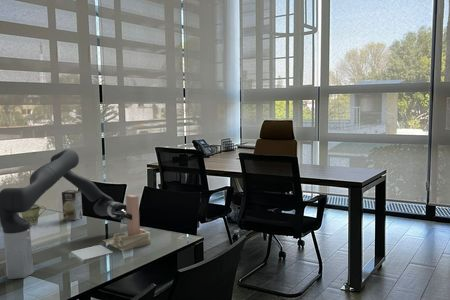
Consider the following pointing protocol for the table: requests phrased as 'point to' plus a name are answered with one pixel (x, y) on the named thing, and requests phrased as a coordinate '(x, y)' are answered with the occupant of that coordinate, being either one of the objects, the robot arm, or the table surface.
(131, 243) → the rack
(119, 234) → the offcut stack
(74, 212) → the coffee box
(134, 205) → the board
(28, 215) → the ceramic cup
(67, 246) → the table surface
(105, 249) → the mat
